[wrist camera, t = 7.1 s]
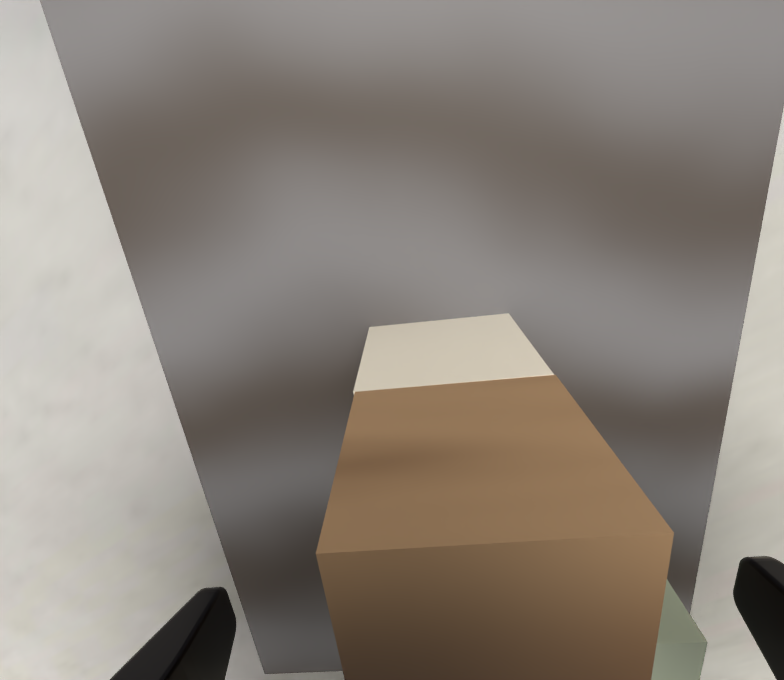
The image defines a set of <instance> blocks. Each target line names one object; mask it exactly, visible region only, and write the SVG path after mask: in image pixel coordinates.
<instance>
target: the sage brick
mask: <svg viewBox="0 0 784 680" xmlns="http://www.w3.org/2000/svg"><path fill="white" fill-rule="evenodd" d="M706 647H707V641H706V639H705V637H704V636H703V634H702V633H701V631H700V630H699V628H698V627H697V625H696V623H695V622H694V620H693V619H692V617H691V616H690V614H689V613H688V611H687V610H686V608H685V606H684V605H683V603H682V602H681V600H680V599H679V597H678V596H677V594H676V592H675V591H674V589H673V588H672V586H671V585H670V583H669V582H668V580H667V581H666V587H665V594H664V600H663V607H662V613H661V619H660V626H659V632H658V638H657V645H656V651H655V658H654V664H653V670H652V677H651V680H700V675H701V670H702V666H703V661H704V656H705V652H706Z"/></svg>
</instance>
